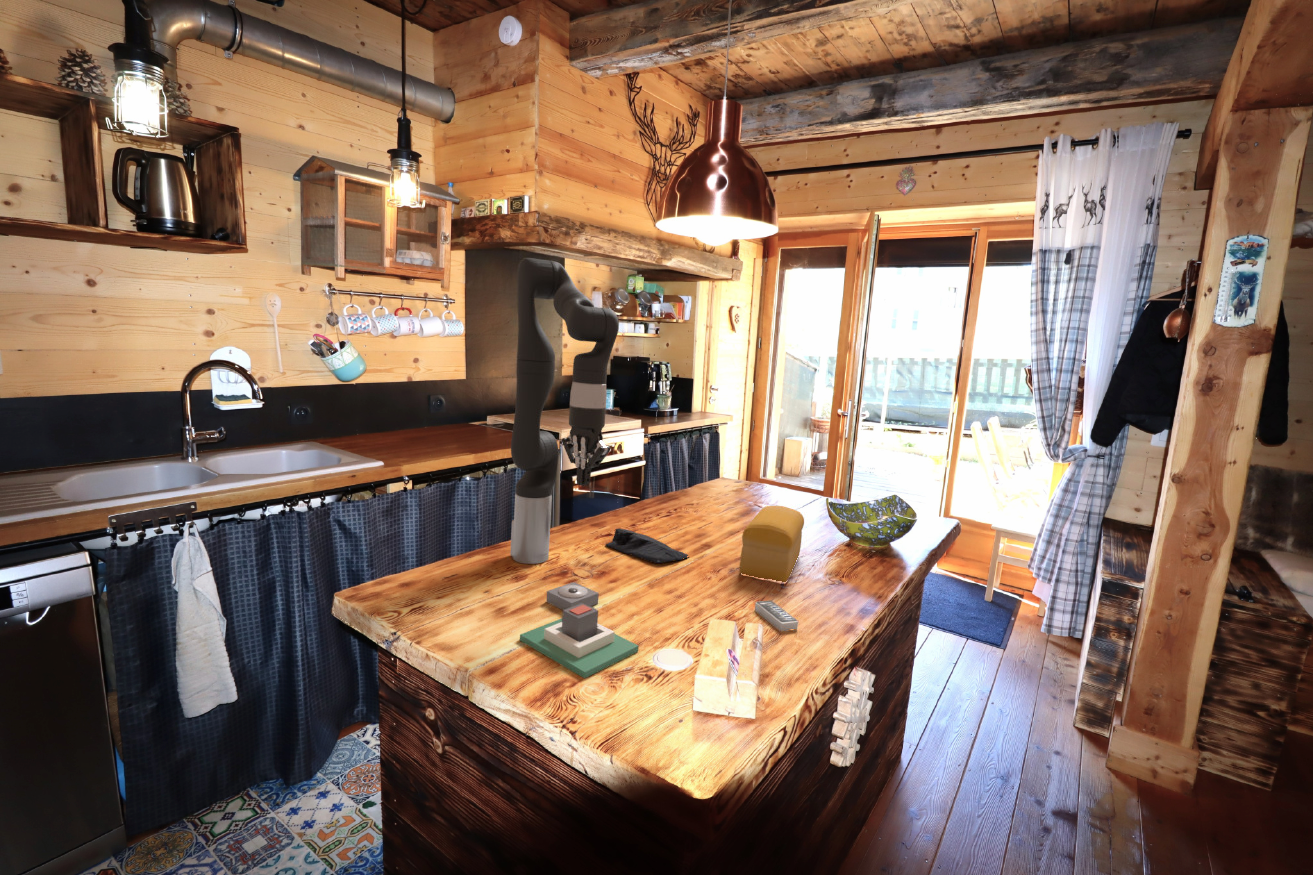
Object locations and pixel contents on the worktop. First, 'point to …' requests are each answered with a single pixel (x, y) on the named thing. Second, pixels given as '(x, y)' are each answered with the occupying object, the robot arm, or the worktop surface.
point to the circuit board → (579, 648)
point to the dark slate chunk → (644, 547)
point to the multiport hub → (776, 615)
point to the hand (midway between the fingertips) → (582, 485)
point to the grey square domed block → (572, 596)
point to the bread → (772, 543)
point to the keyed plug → (580, 622)
